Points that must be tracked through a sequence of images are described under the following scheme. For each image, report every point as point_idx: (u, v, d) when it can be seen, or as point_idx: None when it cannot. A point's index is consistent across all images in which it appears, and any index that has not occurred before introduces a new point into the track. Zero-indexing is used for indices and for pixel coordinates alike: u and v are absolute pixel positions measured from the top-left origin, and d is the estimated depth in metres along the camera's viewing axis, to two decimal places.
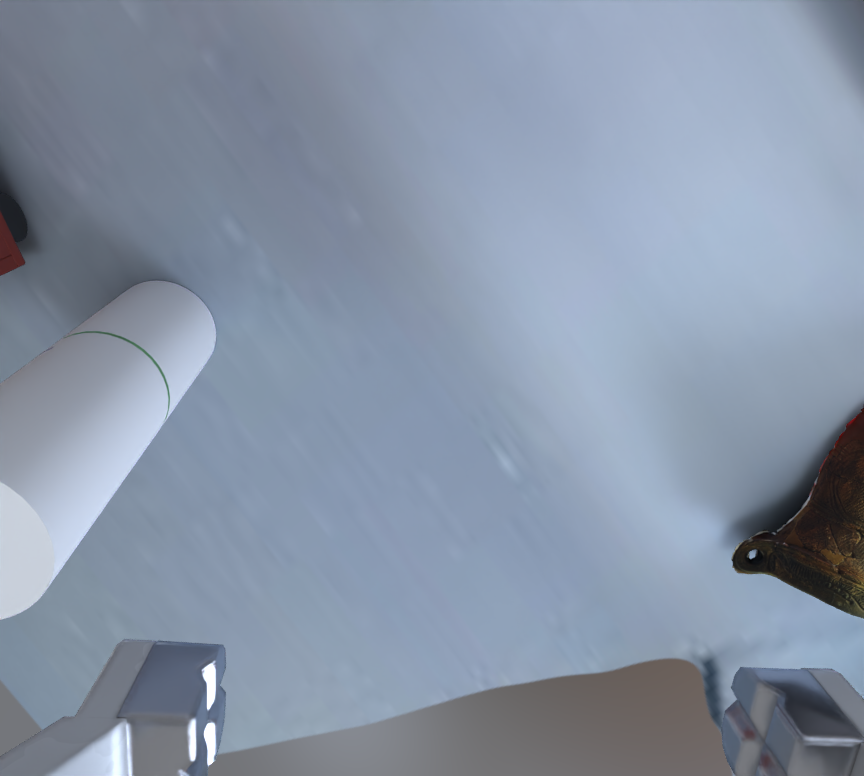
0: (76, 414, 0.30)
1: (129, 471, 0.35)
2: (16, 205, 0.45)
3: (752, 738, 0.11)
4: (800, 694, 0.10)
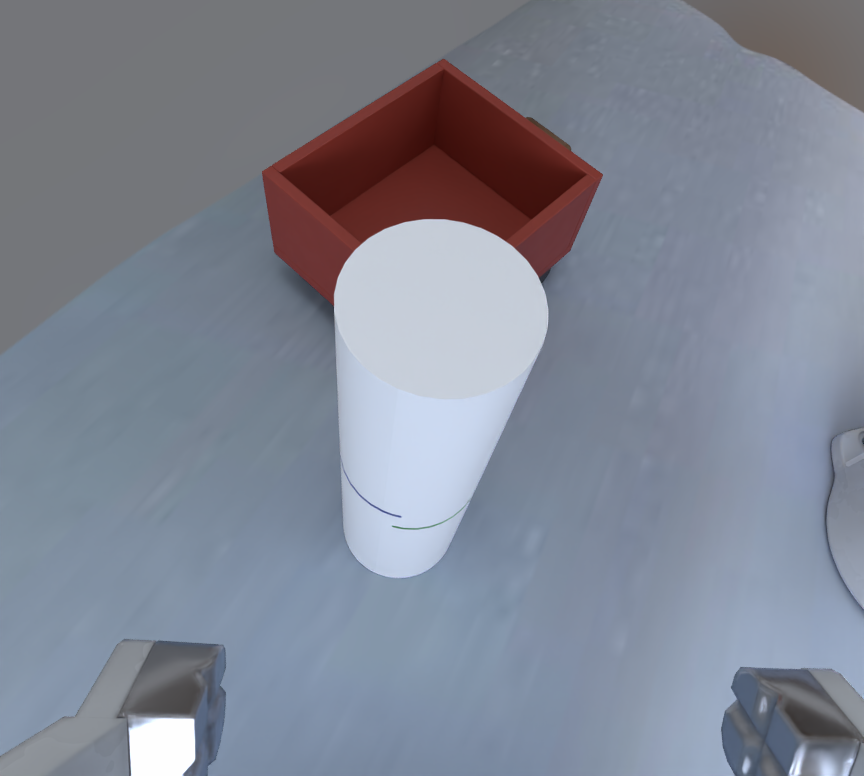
0: None
1: (417, 492, 0.29)
2: None
3: (751, 738, 0.11)
4: (800, 694, 0.10)
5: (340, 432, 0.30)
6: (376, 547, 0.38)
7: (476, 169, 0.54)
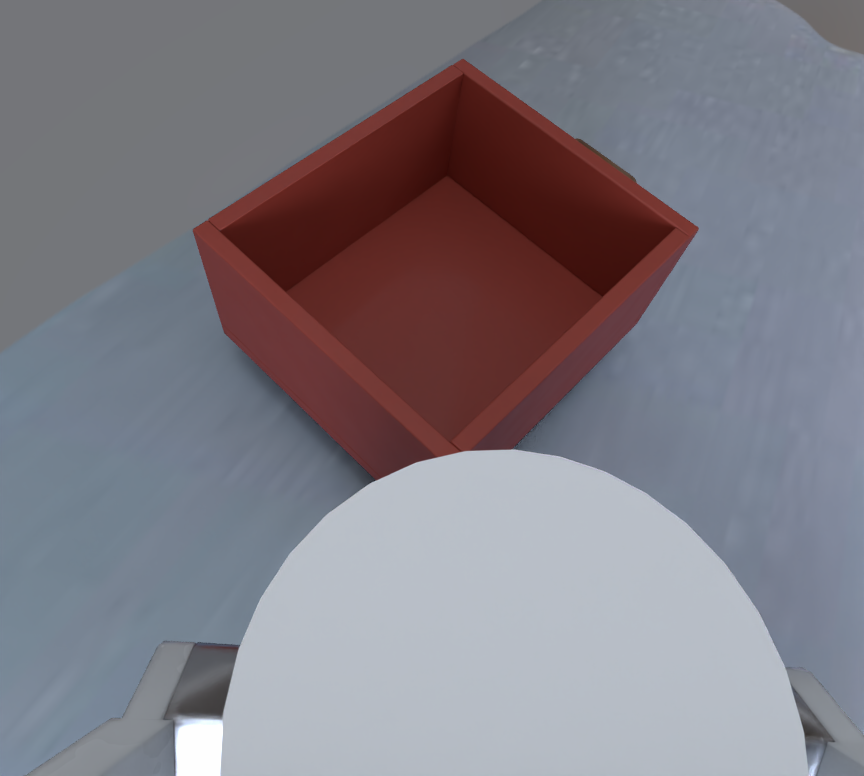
0: None
1: None
2: None
3: None
4: None
5: None
6: None
7: (506, 211, 0.39)
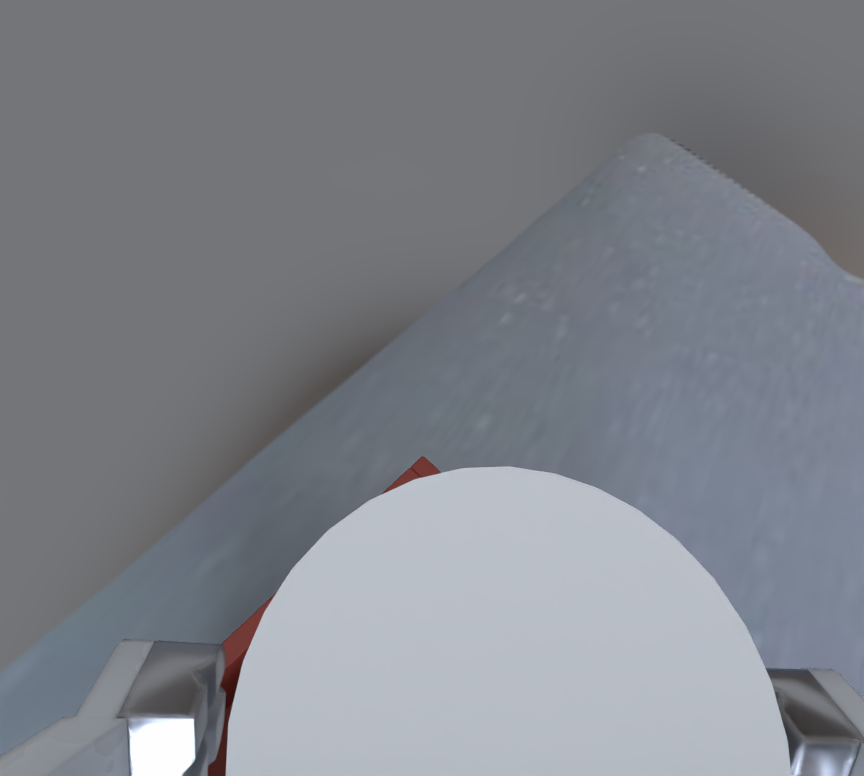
0: None
1: None
2: None
3: None
4: (800, 694, 0.10)
5: None
6: None
7: None
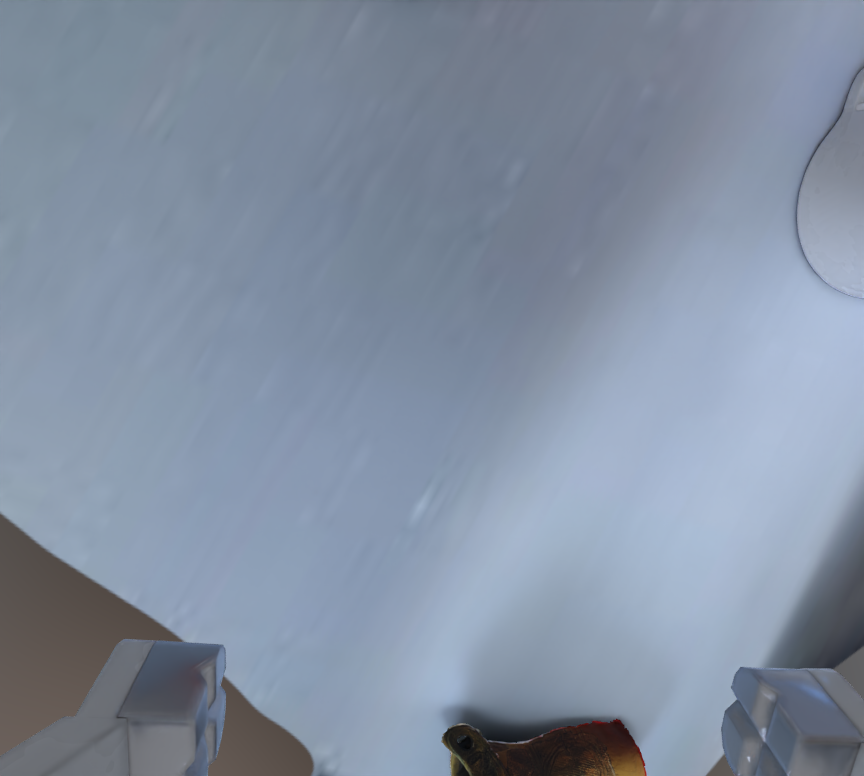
0: None
1: None
2: None
3: (751, 737, 0.11)
4: (800, 694, 0.10)
5: None
6: None
7: None
